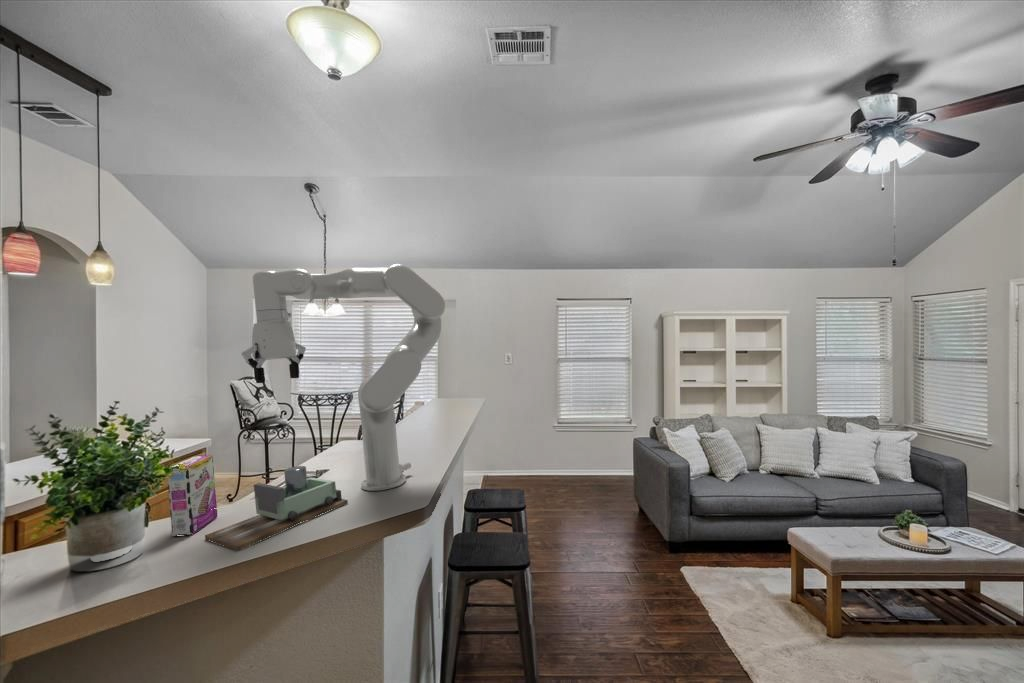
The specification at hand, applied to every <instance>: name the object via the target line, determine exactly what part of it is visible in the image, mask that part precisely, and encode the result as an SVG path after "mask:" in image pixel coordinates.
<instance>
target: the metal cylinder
mask: <svg viewBox="0 0 1024 683" xmlns="http://www.w3.org/2000/svg"><path fill="white" fill-rule="evenodd" d="M283 471H284V472H283V473H284V485H285V486H284V487H286V498H287V497H290V496H293V495H296V494H298V493H301V492H304V491H306V490H308V487H307V479H308V476H307V466H305V465H297V466H291V467H287V468H286V469H284V470H283Z"/></svg>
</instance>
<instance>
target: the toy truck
mask: <svg viewBox="0 0 1024 683" xmlns="http://www.w3.org/2000/svg"><path fill="white" fill-rule="evenodd" d="M307 487H308V490H306V491H304V492H301V493H298V494H296V495H293V496H290V497H287V498H286V487H285V486H283V487H282V486H281V487H280V486H277V485H271V484H267V483H265V484H264V483H261V482H257V483H254V484H253V491H254V503H255V512H256V514H257V515H263V516H267V517H271V518H275V519H279V520H282V519H285V518H287V517H288V518H289V519H292V520H294V519H295V518H296V517H297V513H300V512H302V511H305V510H307V509H309V508H312V507H314V506H317V505H319V504H322V503H324V502H325V503H326V504H332V503H333V499H334V498H337V496H336V490H337V486H336V480H335V481H334V480H328V479H322V478H316V477H307Z"/></svg>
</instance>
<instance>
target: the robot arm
mask: <svg viewBox="0 0 1024 683" xmlns="http://www.w3.org/2000/svg"><path fill="white" fill-rule="evenodd" d="M252 287H253V295H254V297H253V298H254V306H255V317H256V323H253V327H252V332H251V333H252V336H251V346H250V347H248V348H247V349H246V350H244V351H242V352H241V355H242V357H243V359H244V360H245V363H247V364H248V365H249V366H250V367H251V368H252V369H253V375H254V381H255V383H256V384H265V383H266V379H265V378H266V377H265V368H264V367H263V365H264V364H265V362H266V361H268V360H279V359H280V360H281V359H287V361H289V362H290V363H289V365H288V368H289V376H290V377H289V378H291V379H299V378H300V366H299V364H300V363H301V361H302V360H303V358H304V354H305V352H306V347H305V346H303V345H301V344H299V343H297V342H296V339H295V333H294V330H293V327H292V323H291V321H289V319H290V318H291V317H292V313H291V312H289V311H288V308H287V306H288V305H287V297H286V296H288V297H293V298H295V299H297V300H303V301H304V300H308V301H309V300H331V299H332V300H333V299H357V298H359V299H361V298H392V297H398V298H399V299H400V300H401V301H402V302H404V303H405V304H406V306H408V307H410V308H411V313H412V316H413V319H414V320H413V325H412V327H411V328H410V330H409V331H408V332H407V333H406V335H405V336H404V337H403V338H402V339H401V341H399V343H397V345H396V346H395V347H394V348H393V349H392V350H391V351H390V352H389V353H388V354H386V357H385V359H384V362H383V363H382V364H381V366H380V367H379V368H378V369H377V370H376V371H375V372H374V374H373V375H370V376H368V377H366V378H365V379H364V380H362V382H361V383H360V385H359V386H358V387H359V388H358V389H357V390H358V392H357V399H358V406H359V414H360V415H359V416H360V423H361V436H362V438H361V439H362V447H363V448H362V449H363V457H364V467H365V468H364V469H365V479H363V480H362V481H361V483H360V487H361V489H362V490H364V491H368V492H369V491H370V492H374V491H376V492H377V491H378V492H379V491H384V490H385V491H386V490H390V489H393V488H396V487H399V486H401V485H403V484H404V483H405V482H406V480H407V478H406V475H405V474H403V473H404V472H405V471H407V470H409V469H411V468H412V464H411V462H405V463H403V464H402V463H400V460H399V448H398V436H397V425H396V414H395V406H394V405H395V404H396V403H397V402H398V401H399V399H400V398H401V397H402V396H403V395H404V394H405V392H406V391H407V390H408V389H409V388H410V386H411V385H412V384H413V383H414V382H415V381H416V379H417V378H418V376H419V375H420V373H421V370H422V363H423V361H424V359H425V358H426V357H427V356H428V354H429V353H430V352H431V350H432V349H433V348H434V347H435V346H436V344H437V342H438V341H439V338H440V335H441V332H442V319H441V317H442V315H443V314H444V312H445V309H446V302H445V300H444V297H443V296H442V294H441V293H439V291H437V289H436V288H434V287H433V286H432V285H431V284H429V283H428V282H427V281H425V279H423V278H422V277H421V276H420V275H418V274H417V273H416V272H415V271H414V270H413V269H411V268H410V267H409V266H407V265H405V264H400V263H396V264H392V265H390V266H388V267H350V268H346V269H343V270H341V271H338V272H331V273H310V272H309V271H308V270H306V269H301V268H292V269H286V270H280V271H277V270H263V271H256V272H255V273H254V274H253V276H252Z"/></svg>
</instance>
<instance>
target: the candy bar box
mask: <svg viewBox="0 0 1024 683" xmlns="http://www.w3.org/2000/svg"><path fill="white" fill-rule="evenodd" d="M178 464H183V465H185V466H187V467H188V468H190V469H189V470H187V471H185V472H183V473H181V472H179V471H180V469H179V467H176V466H179V465H178ZM171 466H172V469H173V472H172V473H174V474H172V475H174V476H172V477H171V478H167V488H168V489H167V490H168V499H169V511H170V512H169V513H170V514H169V515H170V525H171V537H172V536H177V535H189V536H191V535H190V534H193V535H194V534H196V533H197V532H199V531H200V530H201V529H203V528H204V527H205V525H206V524H207V525H209V524H210V523H211V522H213V521H214V520H216V519H217V518H218V506H217V504H218V503H217V496H216V483H215V481H216V480H215V471H214V470H215V469H214V458H213V454H210V455H209V454H205V455H198V456H192V457H190V458H188V459H185V460H183V461H180V462H178V463H176V464H174V466H173V465H171ZM214 508H217V509H214ZM211 509H212V510H211ZM216 517H217V518H216ZM209 522H210V523H209ZM207 525H206V526H207ZM203 526H204V527H203ZM202 527H203V528H202ZM199 529H200V530H199ZM198 530H199V531H198ZM195 532H196V533H195Z"/></svg>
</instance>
